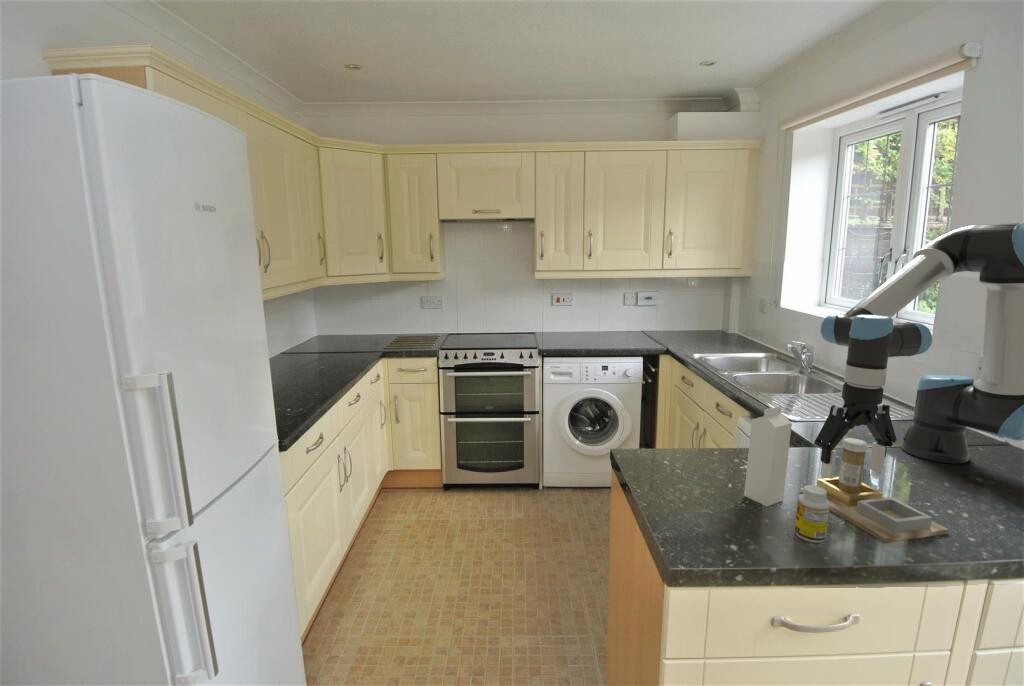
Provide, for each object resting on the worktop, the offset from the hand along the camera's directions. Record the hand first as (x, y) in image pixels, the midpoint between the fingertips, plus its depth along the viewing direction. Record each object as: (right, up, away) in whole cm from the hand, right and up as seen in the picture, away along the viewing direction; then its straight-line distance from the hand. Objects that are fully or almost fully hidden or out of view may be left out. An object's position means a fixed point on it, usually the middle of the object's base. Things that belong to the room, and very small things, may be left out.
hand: (851, 473), depth 118 cm
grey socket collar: (+2, -8, -9) cm, 13 cm away
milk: (-20, -6, +1) cm, 21 cm away
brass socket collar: (0, -6, +1) cm, 7 cm away
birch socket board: (+1, -7, -4) cm, 9 cm away
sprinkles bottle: (0, -6, +1) cm, 6 cm away
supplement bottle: (-18, -9, -14) cm, 25 cm away
